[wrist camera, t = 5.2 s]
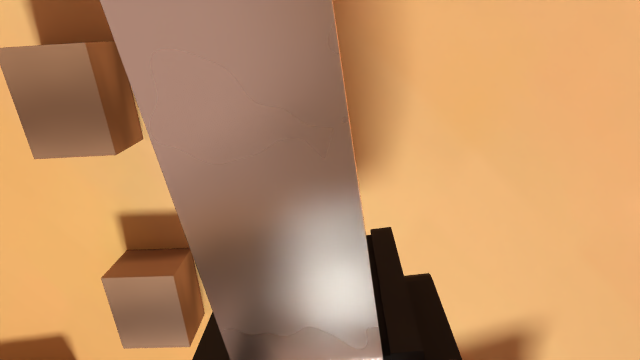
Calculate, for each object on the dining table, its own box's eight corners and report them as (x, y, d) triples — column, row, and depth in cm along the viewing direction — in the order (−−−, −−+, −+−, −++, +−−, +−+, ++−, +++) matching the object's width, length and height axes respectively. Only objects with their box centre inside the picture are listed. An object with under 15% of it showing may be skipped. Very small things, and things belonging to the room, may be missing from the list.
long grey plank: (189, -148, 7) (-57, -427, 3) (307, -177, 7) (253, -534, 3) (338, 465, 15) (340, 661, 10) (398, 462, 15) (426, 660, 10)
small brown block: (128, 248, 23) (100, 278, 20) (192, 246, 23) (173, 275, 20) (146, 313, 25) (123, 348, 22) (205, 311, 25) (189, 346, 22)
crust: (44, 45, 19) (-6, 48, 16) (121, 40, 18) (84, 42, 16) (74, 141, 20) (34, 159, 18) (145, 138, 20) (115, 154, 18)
